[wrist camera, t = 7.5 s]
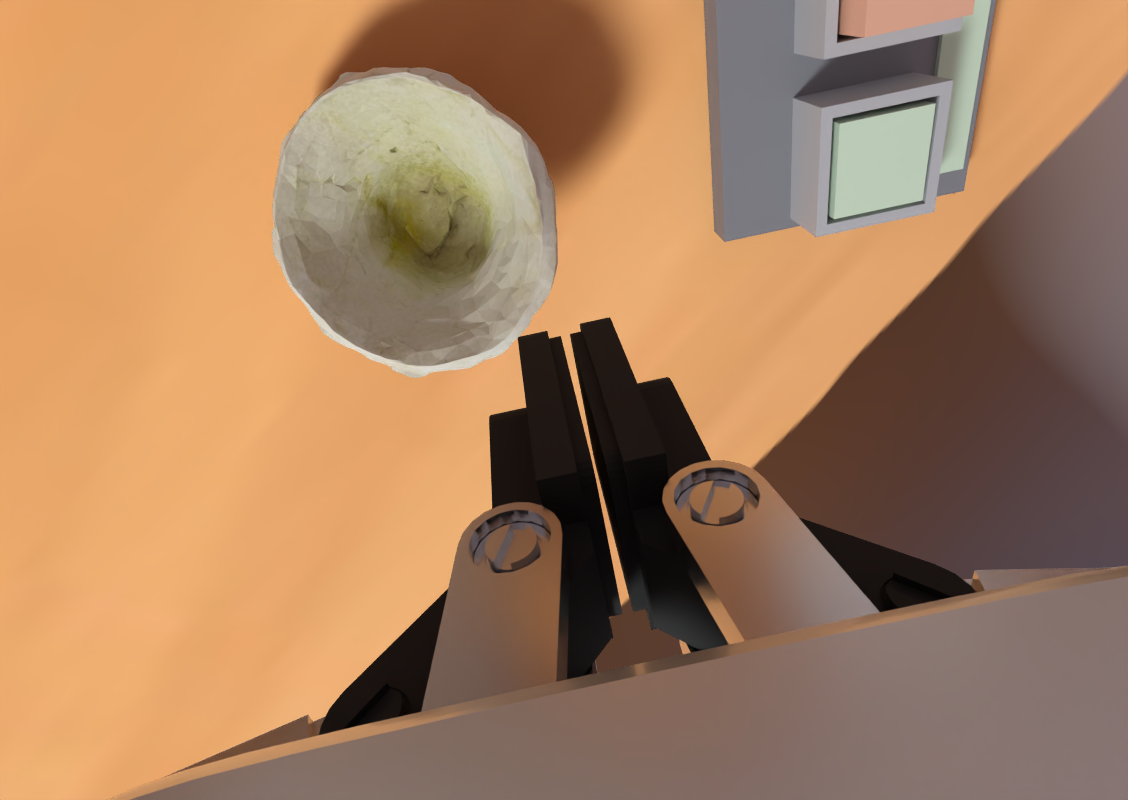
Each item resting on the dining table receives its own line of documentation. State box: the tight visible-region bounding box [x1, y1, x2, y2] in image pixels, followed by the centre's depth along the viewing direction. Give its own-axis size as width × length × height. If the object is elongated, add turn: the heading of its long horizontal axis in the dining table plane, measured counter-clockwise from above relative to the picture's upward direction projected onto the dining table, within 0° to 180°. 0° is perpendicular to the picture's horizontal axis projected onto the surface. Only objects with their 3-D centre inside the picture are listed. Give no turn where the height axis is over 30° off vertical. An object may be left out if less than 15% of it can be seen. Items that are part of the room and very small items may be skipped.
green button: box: [827, 99, 936, 219], centre depth 35 cm, size 5×5×3 cm
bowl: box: [272, 67, 558, 378], centre depth 33 cm, size 15×14×10 cm
